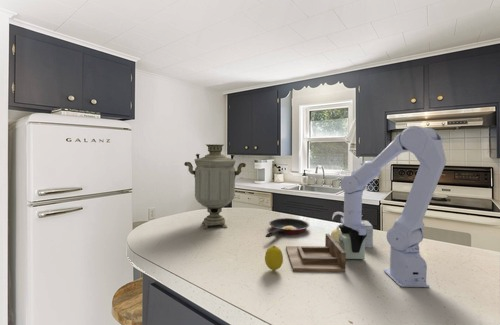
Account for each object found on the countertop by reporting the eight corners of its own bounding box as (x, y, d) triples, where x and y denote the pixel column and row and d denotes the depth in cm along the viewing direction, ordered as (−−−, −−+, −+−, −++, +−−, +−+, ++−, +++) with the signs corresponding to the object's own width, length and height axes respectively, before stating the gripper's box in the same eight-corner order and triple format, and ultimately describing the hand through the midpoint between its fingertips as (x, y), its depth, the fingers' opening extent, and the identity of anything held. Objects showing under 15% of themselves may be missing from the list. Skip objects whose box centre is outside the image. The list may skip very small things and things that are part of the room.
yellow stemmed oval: (329, 240, 106) (330, 212, 105) (332, 237, 110) (332, 209, 110) (344, 243, 103) (345, 214, 102) (347, 239, 107) (347, 211, 107)
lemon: (271, 265, 83) (271, 241, 83) (286, 270, 79) (286, 245, 79) (261, 271, 79) (261, 245, 78) (276, 277, 75) (276, 250, 75)
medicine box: (372, 248, 98) (373, 226, 98) (360, 247, 99) (361, 225, 99) (367, 241, 106) (368, 220, 105) (356, 240, 107) (356, 219, 106)
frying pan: (314, 227, 124) (314, 220, 124) (289, 249, 96) (289, 239, 96) (278, 222, 133) (279, 214, 133) (246, 240, 106) (246, 231, 106)
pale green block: (364, 258, 87) (365, 238, 87) (342, 258, 87) (342, 238, 87) (358, 253, 92) (359, 233, 92) (337, 252, 92) (337, 233, 92)
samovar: (249, 218, 140) (250, 145, 138) (241, 233, 114) (241, 143, 112) (197, 215, 145) (197, 144, 143) (178, 230, 119) (177, 143, 117)
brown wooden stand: (345, 271, 79) (345, 252, 78) (293, 271, 79) (293, 252, 79) (328, 249, 97) (328, 233, 96) (286, 248, 97) (286, 233, 97)
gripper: (375, 215, 82) (374, 257, 82) (353, 205, 96) (352, 241, 97) (354, 215, 81) (353, 257, 82) (335, 206, 96) (334, 241, 96)
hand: (351, 248), depth 89 cm, fingers closed on pale green block, 5 cm apart
